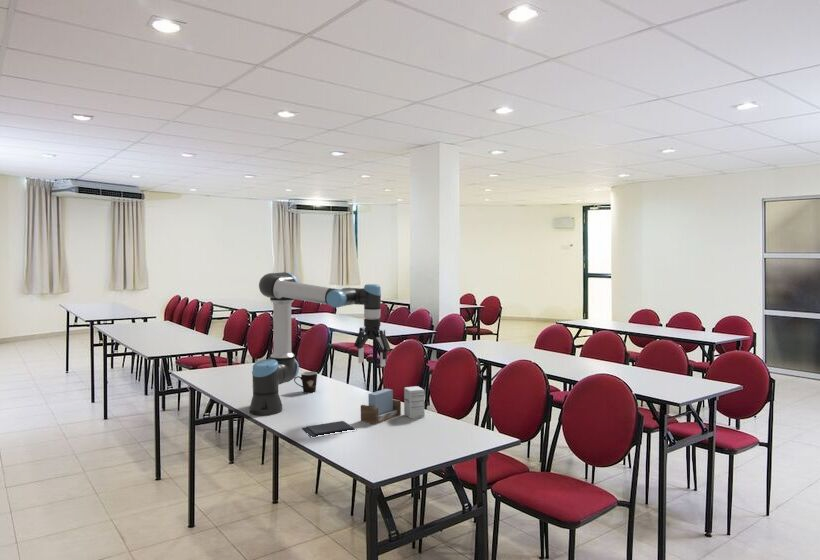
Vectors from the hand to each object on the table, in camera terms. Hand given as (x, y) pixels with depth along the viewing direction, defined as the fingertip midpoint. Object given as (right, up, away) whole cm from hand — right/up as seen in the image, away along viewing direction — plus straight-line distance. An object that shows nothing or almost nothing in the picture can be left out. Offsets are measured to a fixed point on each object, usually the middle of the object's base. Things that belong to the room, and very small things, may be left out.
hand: (371, 364), depth 256 cm
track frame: (+5, -23, -6) cm, 24 cm away
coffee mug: (-38, -22, +44) cm, 62 cm away
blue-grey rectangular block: (+4, -22, -6) cm, 23 cm away
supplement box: (+19, -23, -3) cm, 30 cm away
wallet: (-16, -25, -22) cm, 37 cm away
